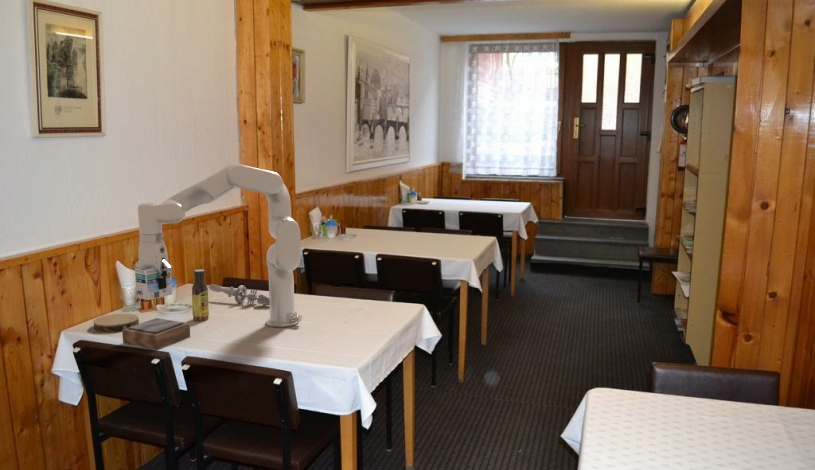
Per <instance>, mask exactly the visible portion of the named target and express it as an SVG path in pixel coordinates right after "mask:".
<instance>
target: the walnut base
mask: <svg viewBox="0 0 815 470" xmlns="http://www.w3.org/2000/svg"><path fill="white" fill-rule="evenodd" d="M121 333H122V343H123V344H125V345H131V346H136V347H141V348H147V349H151V350H155V351H156V350H160V349H163V348H164V347H168V346H170V345H172V344H175V343H177V342H180V341H182V340H186V339H188V338H190V337H191V327H190V323H188V322H184V321H177V320H170V319H165V318H159V317H158V318H157V317H156V318H153V319H150V320H147V321H144V322H141V323H140V322H139V324H137V325H134V326H131V327H129V328H126V329H123V330H122V331H121Z"/></svg>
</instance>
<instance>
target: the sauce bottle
mask: <svg viewBox="0 0 815 470" xmlns="http://www.w3.org/2000/svg"><path fill="white" fill-rule="evenodd" d="M205 272H206V271H205V269H194V271H193V274H194V283H193V285H192V287H191V305H192V306H191V307H192V316H193V317H192V318H193V320H194V321H196V322H202V321H208V319H209V316H210V306H209V305H210V301H209V300H210V299H209V287H208V286H207V285H208V284H206V280H205V274H206V273H205Z"/></svg>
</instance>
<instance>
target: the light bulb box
mask: <svg viewBox="0 0 815 470" xmlns="http://www.w3.org/2000/svg"><path fill="white" fill-rule="evenodd" d="M169 265H170V264H169ZM170 266H171V267H172V265H170ZM160 269H162V267H160ZM161 273H162V271H161ZM134 276H135V289H136V299H140V300H141V299H142V300H146V301H150V300H154V299H155V300H156V299H158V298H162V297H167V296H170V295H171V296H172V295H173V281H172V278H173V277H172V269H171V270H170V272H169V274H168V275H167V277H166V285H167V287H166V288H164V289H159V288H158V278H159V276H158V273H157V271H155V269H153V268H146V267H140V268H137V267H135V268H134Z"/></svg>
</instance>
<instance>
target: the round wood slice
mask: <svg viewBox="0 0 815 470" xmlns="http://www.w3.org/2000/svg"><path fill="white" fill-rule="evenodd" d="M137 324H140V322H139V315H137V314H132V313H114V314H113V313H112V314H109V315H103V316H100V317H98V318H96V319H94V320H93V330H94V331H96V332H99V333H117V332H118V333H119V332H122V330H123V329H126V328H129V327H131V326H134V325H137Z"/></svg>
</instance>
